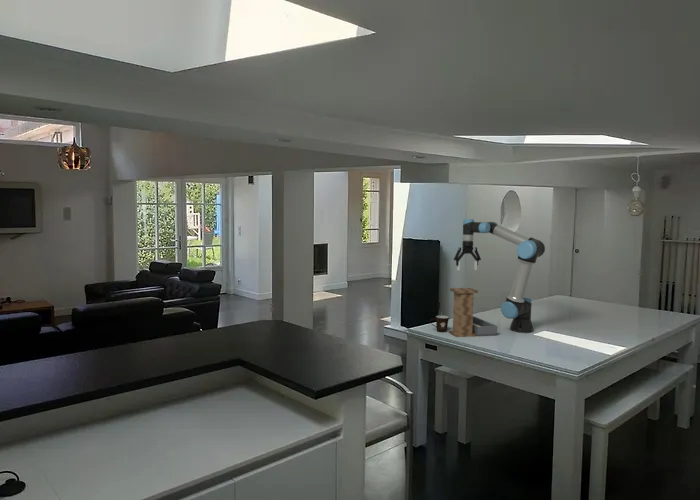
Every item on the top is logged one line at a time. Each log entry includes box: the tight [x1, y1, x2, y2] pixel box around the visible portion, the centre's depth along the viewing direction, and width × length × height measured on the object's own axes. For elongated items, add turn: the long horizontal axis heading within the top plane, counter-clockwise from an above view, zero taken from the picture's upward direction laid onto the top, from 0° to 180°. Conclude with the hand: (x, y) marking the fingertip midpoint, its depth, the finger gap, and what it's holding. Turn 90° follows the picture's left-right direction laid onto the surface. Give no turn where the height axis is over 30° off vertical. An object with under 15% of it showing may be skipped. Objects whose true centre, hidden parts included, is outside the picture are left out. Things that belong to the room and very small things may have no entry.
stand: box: [448, 287, 479, 338], centre depth 350 cm, size 14×12×30 cm
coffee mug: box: [430, 315, 450, 333], centre depth 359 cm, size 12×9×10 cm
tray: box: [472, 315, 498, 337], centre depth 365 cm, size 14×32×6 cm, turn 15°
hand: (467, 270), depth 383 cm, fingers open, 13 cm apart
